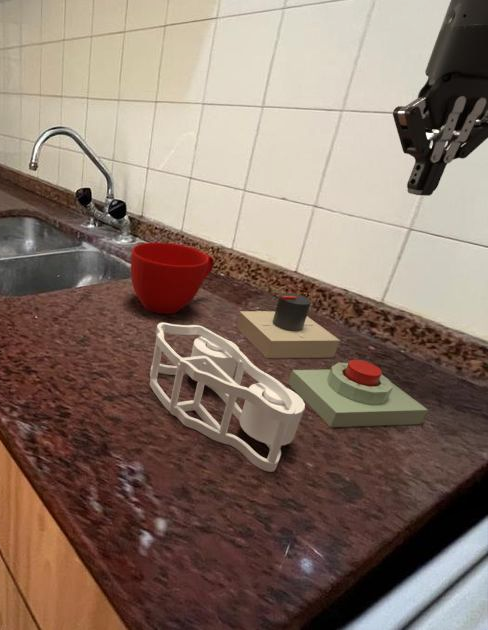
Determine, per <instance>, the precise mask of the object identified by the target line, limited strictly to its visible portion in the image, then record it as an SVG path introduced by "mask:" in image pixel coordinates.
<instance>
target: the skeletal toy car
mask: <svg viewBox="0 0 488 630" xmlns="http://www.w3.org/2000/svg"><path fill="white" fill-rule="evenodd" d="M165 333H167V334H171V335H184V336H193V335H196V336H198V337H197V338H195V339H194V340H193V343H192V344H193V345H192V349H191V352H190V356H187V357H182V356H181V355H180V354H178V353H177V352H176V351H175V350H174V349H173V347H171V346H170V345H169V343H168V342H167V341H166V340H165ZM155 335H156V337H155V344H154V350H153V355H152V360H151V367H150V371H149V377H150V378H149V379H150V381H149V387H150V389H151V390H152V392H153V393H154V394H155V396H156V397H157V399H158V400H159V402H160V403H161V404H162V406H163V407H164V408H165V409H166V410H167V411H169V413H170V415H172V416H175V417H176V418H177V419H178V421H180V422H181V423H182V425H183V426H185V427H187V428H189V429H193V430H195V431H197V432H199V433H200V434H202V435H204V436H205V437H207V438H209V439H211V440H213V441H215V442H217V443H220V444H224V445H228V446H231V447H233V448H234V449H236V450H238V451H239V452H240V453H241V454H242V455H243V456H244V457H245V458H246V459H247V460H248V461H249V462H250V463H251V464H252V465H254V466H255V467H257V468H259V469H260V470H262V471H265V472H270V473H274V472H275V471H276V469H277V468H278V467H277V466H278V464H279V461H280V459H281V456H282V450H281V448H282V446H286V445H289V444H291V443H292V442H293V441H294V439H295V436H296V434H297V430H298V428H299V425H300V423H301V419H302V417H303V413H304V412H305V408H306V402H305V400H304V399H303V398H302V397H301V396H300V395H299V394H298V393H297V392H296V391H293V390H292V389H291V388H288V387H286V386H285V385H284V384H283V383H282V382H281V381H279V380H278V379H276V378H275V377H273V376H271V374H269V373H266V372H265V371H263V370H262V369H260V368H259V367H257V366H256V365H255V364H254V363H252V361H250V359H249V358H248V357H247V356H246V354H244V353H243V352H242V351H241V350H240V347H239V346H238V345H237V344H236V343H234V342H233V341H231V340H229V339H226V338H224V337H222V336H221V335H218V334H217V333H215V332H213V331H211V330H210V329H209V328H207V327H205V326H202V325H199V324H190V325H189V324H188V325H186V324H174V323H168V322H163V321H161V322H158V324H157V326H156V331H155ZM162 353H163V354H164V356H166V358H167V359H168V360H169V361H170V362H171V364H173V365H168V364H163V363H161V358H162ZM245 372H246V373H247V375H249V376H250V377H251V378H252V379H254V380H256V381H257V382H256V383H252V384H250V385H249V387H246V386H243V385H241V384H242V379H243V376H244V373H245ZM159 374H161V375H162V374H163V375H168V376H174V382H173V388H172V392H171V396H170V397H169V396H168V395H167V394H166V393H165V391H164V390H163V388H162V387H161V386H160V384H159V383H158V375H159ZM185 375H188V376H189V377H190V378H191V379H192V380H193V381H195V382H197V383H196V387H195V393H194V396H193V400H184V401H179V397H180V392H181V387H182V383H183V378H184V376H185ZM233 378H234V379H233ZM205 386H206V387H207V388H209V389H211V390H212V391H213V392H215V393H216V394H217V396H219V398H220V399H221V400H222V401H223V402H224V403H225V407H224V411H223V414H222V419H221V422H220V424H219V422H218V421H217V420H216V419H215V418H214V417H213V416H212V415H211V413H210V412H208V410H207V409H206V408H205V407H204V406H203V404H202V403H201V402H202V397H203V393H204V390H205V389H204V388H205ZM237 398H239V399H243V400H244V403H243V407H242V408H241V407H240V406H239V405H238V403H237ZM178 401H179V402H178ZM187 412H195V413H196V414H197V415H198V416H199V418H200V419H201V420H200V419H198V418H195V417H192V416H190V415H188V414H187ZM232 416H234V417H235V418H236V419H237V420H238V422H239V425H240V428H241V429H242V430H243V432H244V433H246V434H247V435H248V436H249V437H250V438H252V439H254V440H256V441H257V442H259V443H264V444H265V445H266V446H267V448H268V449H269V452H268V455H267V458H266V457H263V456H262V455H261V454H259V453H258V452H256V451H255V450H254V448H252V447H251V446H250V445H249V444H248V443H247V442H246V441H244V440H243V439H242V438H240V437H239V436H236V435H235V434H232V433H228V430H229V427H230V424H231V423H230V422H231V419H232Z"/></svg>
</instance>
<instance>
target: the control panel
mask: <svg viewBox="0 0 488 630" xmlns="http://www.w3.org/2000/svg"><path fill="white" fill-rule="evenodd" d="M274 314H275V311H267V310H265V311H263V310H262V311H255V310H254V311H252V310H249V311H243V310H242V311H241V310H240V311H239V314H238V317H237V321H236V324H235V328H236V329H237V330H238V331H239V332H240V333H241V334H242V335H243V337H245V338H246V340H248V341H249V342H250V343H251V344H252V346H253V347H255V348H256V349H257V351H258V352H260V353H261V354H262V356H263V357H265V359H307V358H308V359H312V358H313V359H315V358H318V359H321V358H326V359H327V358H335V356H336V352H337V351H338V347H339V344H340V342H341V339H339V338H337V337H336V336H335V335H333V334H332V333H331V332H329V330H326V329H325V328H324V327H322V326H321V325H320V324H318V323H317V322H316V321H314V320H313V319H311V318H310V317H309V316H308V315H307V317H306V320H305V323H304V326H303V329H302V330H300V331H289V330H285V329H282V328H279V327H277V326H276V325H274V324H273V318H274Z"/></svg>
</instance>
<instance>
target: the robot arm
mask: <svg viewBox="0 0 488 630" xmlns="http://www.w3.org/2000/svg"><path fill="white" fill-rule="evenodd" d="M427 62H428V63H427V64H426V65H427V66H426V68H425V71H424V73H425V76H426V77H427V80H426V82H425V84H424V85H423V86H422V88H421V89H420V90H419V92H418V94H417V98H416V99H414V100H412V101H411V102H410V103H408V104H407V105H405V106H404V105H403V106H402V105H399V106H396V107H395V108H394V109H393V111H392V117H393V121H394V124H395V128H396V132H397V135H398V138H399V142H400V145H401V148H402V152H403V153H404V154H406V155H410V156H411V157H412V158H413V159H414V165H413V167H412V170H411V173H410V175H409V178H408V181H407V183H406V188H407V190H406V191H407V193H408V194H411V195H415V196H425V197H426V196H427V197H428V196H429V197H430V196H432V195H433V194H434V192H435V191H436V189H437V188H438V186H439V184H440V181H441V179H442V176H443V174H444V172H445V170H446V167H447V165H448V164H450V163H452V161H454V160H457V159H461V160H462V159H463V160H464V159H466V158H467V157H468V156H469V155H471V154H472V153H473V152H474V151H475V150H476V149H477V148H478V147H480V145H482V144H483V143H484V142H485V141H486V140H488V0H450V2H449V5H448V7H447V9H446V12H445V15H444V18H443V21H442V23H441V27H440V29H439V32H438V34H437V36H436V40H435V43H434V45H433V48H432V51H431V54H430V57H429V59H428V61H427Z"/></svg>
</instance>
